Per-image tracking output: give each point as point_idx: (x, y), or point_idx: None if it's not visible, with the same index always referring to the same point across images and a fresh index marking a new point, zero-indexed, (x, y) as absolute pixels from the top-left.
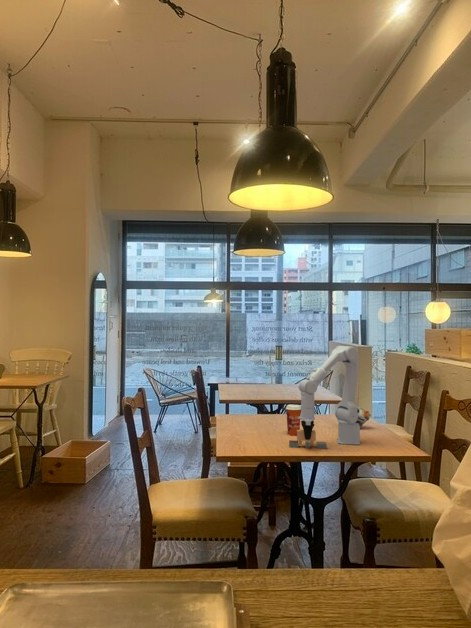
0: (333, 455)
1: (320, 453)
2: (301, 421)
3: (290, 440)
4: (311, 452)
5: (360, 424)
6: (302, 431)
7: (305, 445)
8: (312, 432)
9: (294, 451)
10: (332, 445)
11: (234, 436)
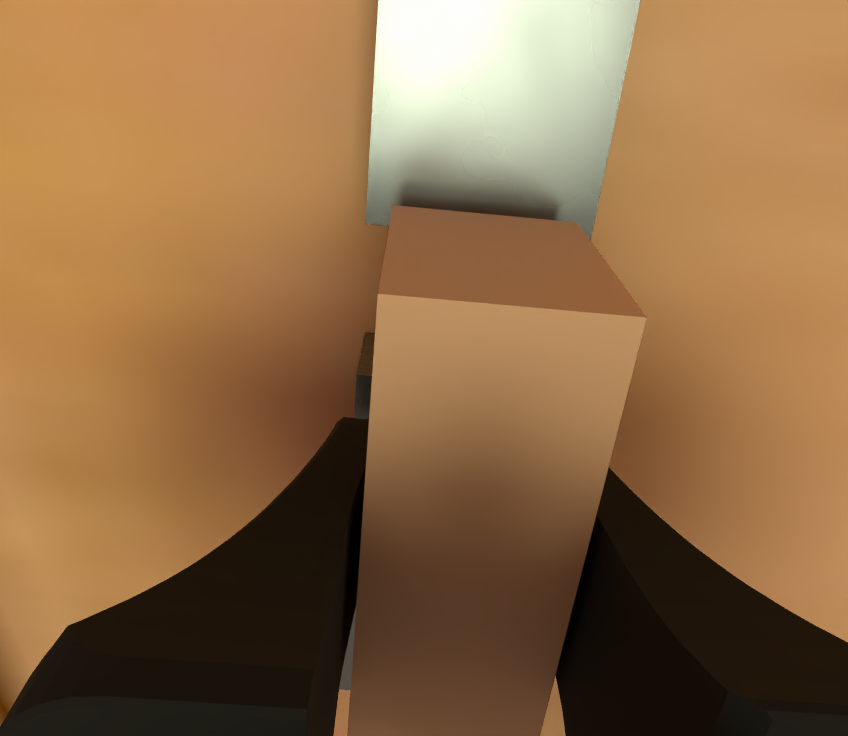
0: (15, 655)
1: (63, 520)
2: (788, 732)
3: (619, 28)
4: (80, 398)
5: None
6: (369, 470)
7: (361, 355)
8: (352, 688)
9: (51, 73)
10: (552, 715)
11: None
